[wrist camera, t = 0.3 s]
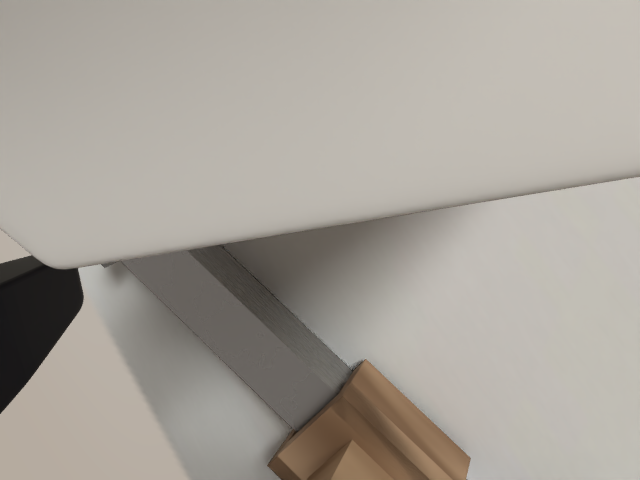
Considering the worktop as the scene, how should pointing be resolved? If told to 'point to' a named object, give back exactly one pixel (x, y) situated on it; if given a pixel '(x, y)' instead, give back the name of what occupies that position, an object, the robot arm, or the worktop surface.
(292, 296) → the worktop surface
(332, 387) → the rail
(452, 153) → the milk
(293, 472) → the carriage
